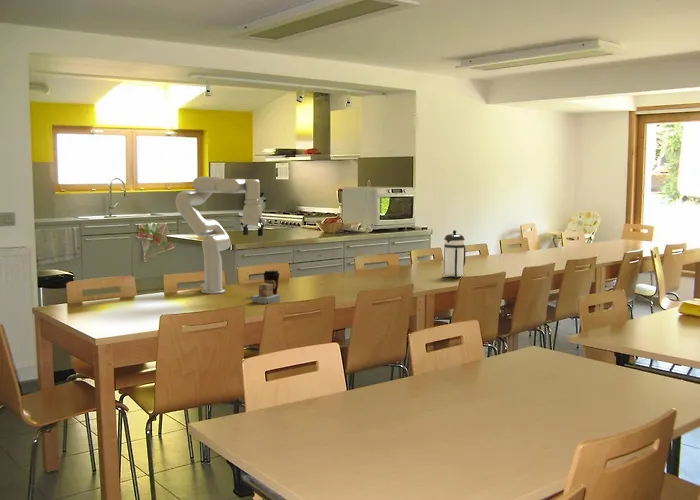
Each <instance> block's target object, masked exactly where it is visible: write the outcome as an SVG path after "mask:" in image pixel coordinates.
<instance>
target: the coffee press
mask: <svg viewBox="0 0 700 500" xmlns="http://www.w3.org/2000/svg"><path fill="white" fill-rule="evenodd" d="M443 239H444V244H443V245H444V246H443V248H444V249H443V251H444V252H443V273H442V274H441V277H444V276H445V277H447V276H448V277H453V278H454V277H455V278H457V279H458V277H462V276H463V275H465V273H464V271H465V270H464V269H465V268H464V267H465V265H466V245H465V240H466V239H465V237H464V236H463V234H459V233H458V234H457V230H455V229H454V230H453V231H452V233H449V234H446V235H445V237H444V238H443ZM455 278H454V279H455Z"/></svg>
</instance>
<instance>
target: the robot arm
mask: <svg viewBox="0 0 700 500" xmlns="http://www.w3.org/2000/svg"><path fill="white" fill-rule="evenodd" d="M260 183H261V182H260V180H259V179H256V178H255V179H247V178H221V176H197V177H195V178H194V179H193V181H192V188H193V189H194V190H193V189H192V190H191V189H190V190H182V191H179V192H178V193H177V195H176V197H175V207H176V209H177V211H178V213H179V214H180V215H181V217H182V218H183V219H184V220H185V221H186V223H187V225H188V226H189V227H190V228H191V229H192V231H193V232H194V234H195V235H196V236H197V237H200V238H203V239H202V242H201V246H202V251H203V265H204V266H203V267H204V268H203V269H204V273H203V274H204V275H203V279H204V283H201V284H199V287H200V288H202V289H201V293H203V294H208V295H210V294H211V295H212V294H213V295H214V294H222V293H225V292H226V289H225V288H223V259H222V255H221V252H222V251H226V250H227V249H229V248H230V247H231V243H232V242H231V237H230V236H229V234H228V233H227V232H226V231H225V229H224V228H223V226H222V225H221V224H220V223H219V222H218V221H217V220H215V219H213V218H204V217H203V216H202V214H201V213H200V211H198V209H197V208H194V207H193V206H200V205H202V204H204V203H205V202H206V201H207V200H208V198H210V196H212V194H220V193H222V194H223V193H224V194H245V196H244V197H245V200H244V201H243V202H244V204H245V205H244V206H243V211H242V217H240V218H239V219H238V220H239V223H240V225H241V227H242V231H243V232H242V235H243V236H249V228H248V226H257V227H258V228H257V236H258V237H261V236H262V237H263V234H264V228H265V226H266V224H267V219H266V218H264V217H263V210H262V205H261V191H260V190H261V184H260Z"/></svg>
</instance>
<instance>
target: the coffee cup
mask: <svg viewBox="0 0 700 500" xmlns="http://www.w3.org/2000/svg"><path fill="white" fill-rule="evenodd" d="M263 278H264V279H263V283H268V284H273V295H279V294H278V288H279V279H280V272H279V270H275V269H274V270H273V269H272V270H265V271H264V273H263Z"/></svg>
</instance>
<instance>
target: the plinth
mask: <svg viewBox="0 0 700 500" xmlns="http://www.w3.org/2000/svg"><path fill="white" fill-rule="evenodd" d="M251 300H252V301H251V303H254V302H257V303H256V304H263V303H264V304H265V305H268V304H267V303H271V304H274V303H273V302H275V303H278V302H280V301H281V295H279V294H278V295H273V296H269V297H262V296H259V294H256V295H252V297H251Z"/></svg>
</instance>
